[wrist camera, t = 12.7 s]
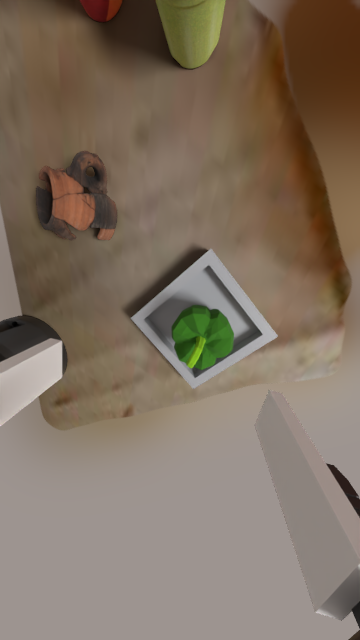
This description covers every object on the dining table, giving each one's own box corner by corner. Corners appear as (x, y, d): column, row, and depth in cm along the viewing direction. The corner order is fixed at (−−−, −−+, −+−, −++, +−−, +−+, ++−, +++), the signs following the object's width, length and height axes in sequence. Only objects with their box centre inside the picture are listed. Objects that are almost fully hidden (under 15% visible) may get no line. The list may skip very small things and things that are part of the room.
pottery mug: (107, 259, 31) (50, 251, 24) (85, 225, 34) (28, 210, 27) (137, 185, 24) (70, 147, 18) (106, 152, 27) (40, 109, 21)
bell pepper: (205, 287, 28) (205, 298, 19) (238, 326, 29) (253, 355, 20) (166, 320, 31) (148, 344, 21) (197, 355, 32) (194, 393, 22)
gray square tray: (194, 378, 34) (193, 388, 31) (137, 313, 32) (130, 318, 29) (271, 329, 30) (278, 336, 27) (210, 250, 28) (210, 248, 25)
